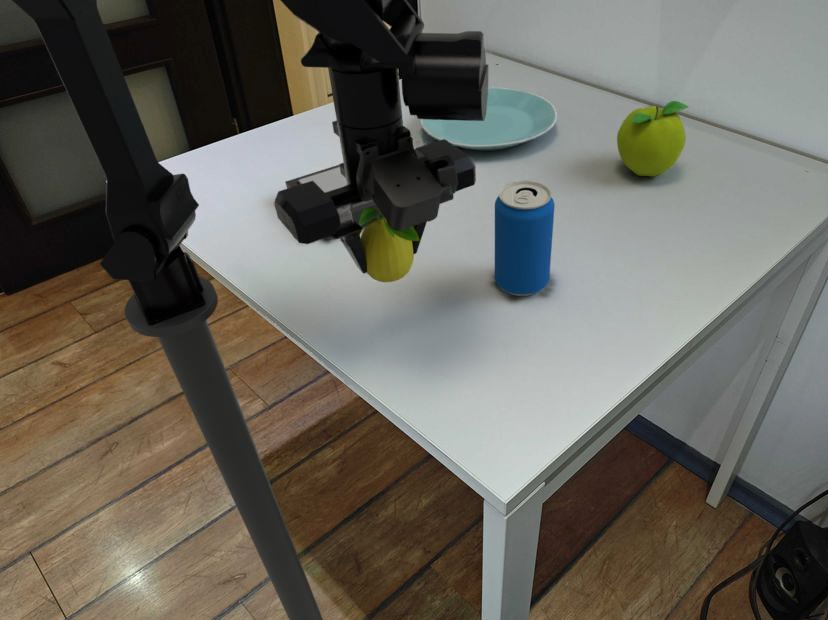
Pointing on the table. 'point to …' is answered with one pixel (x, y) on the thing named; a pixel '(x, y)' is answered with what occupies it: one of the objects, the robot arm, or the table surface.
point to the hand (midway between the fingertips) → (387, 261)
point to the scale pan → (327, 180)
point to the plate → (498, 122)
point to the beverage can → (523, 237)
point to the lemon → (386, 247)
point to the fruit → (652, 139)
